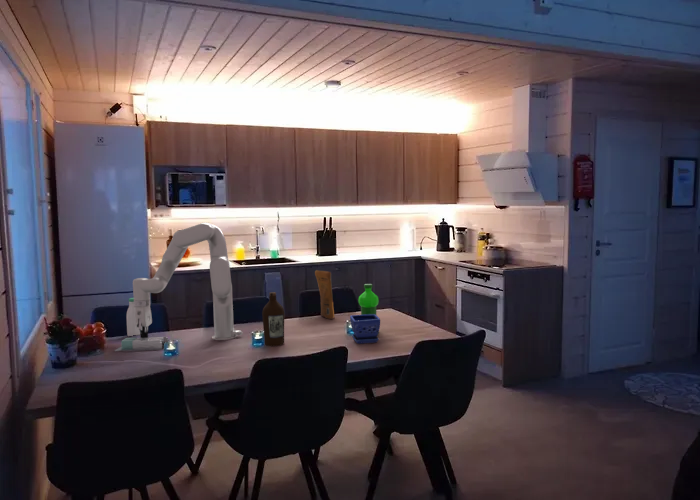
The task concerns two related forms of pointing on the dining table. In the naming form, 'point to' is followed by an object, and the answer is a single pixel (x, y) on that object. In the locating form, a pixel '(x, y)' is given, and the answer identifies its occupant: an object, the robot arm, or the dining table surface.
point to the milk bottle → (132, 319)
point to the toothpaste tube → (146, 338)
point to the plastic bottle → (368, 301)
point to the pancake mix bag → (325, 293)
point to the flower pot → (365, 328)
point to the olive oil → (273, 322)
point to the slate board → (141, 349)
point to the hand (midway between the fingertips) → (144, 340)
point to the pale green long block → (143, 344)
